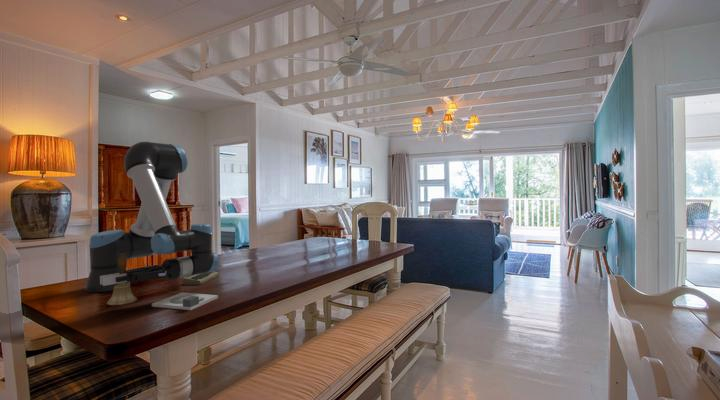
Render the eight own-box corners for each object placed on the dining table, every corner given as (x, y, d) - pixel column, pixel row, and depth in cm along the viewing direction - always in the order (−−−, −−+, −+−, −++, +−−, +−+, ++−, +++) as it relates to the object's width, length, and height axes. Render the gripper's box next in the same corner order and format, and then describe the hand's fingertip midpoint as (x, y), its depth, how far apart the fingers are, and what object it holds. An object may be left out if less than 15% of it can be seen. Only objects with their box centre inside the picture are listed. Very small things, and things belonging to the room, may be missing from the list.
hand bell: (120, 297, 123) (120, 251, 123) (142, 298, 122) (141, 251, 121) (100, 304, 115) (99, 255, 114) (123, 306, 114) (122, 256, 113)
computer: (200, 285, 151) (200, 278, 151) (182, 285, 152) (182, 277, 152) (219, 277, 167) (218, 270, 167) (202, 276, 168) (202, 269, 168)
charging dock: (151, 306, 123) (151, 296, 123) (182, 295, 136) (182, 286, 136) (190, 310, 118) (190, 300, 118) (218, 297, 132) (217, 288, 132)
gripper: (186, 281, 128) (110, 296, 109) (167, 275, 137) (94, 288, 118) (186, 260, 128) (109, 272, 109) (167, 255, 137) (93, 266, 118)
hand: (101, 280), depth 114 cm, fingers closed on hand bell, 2 cm apart
